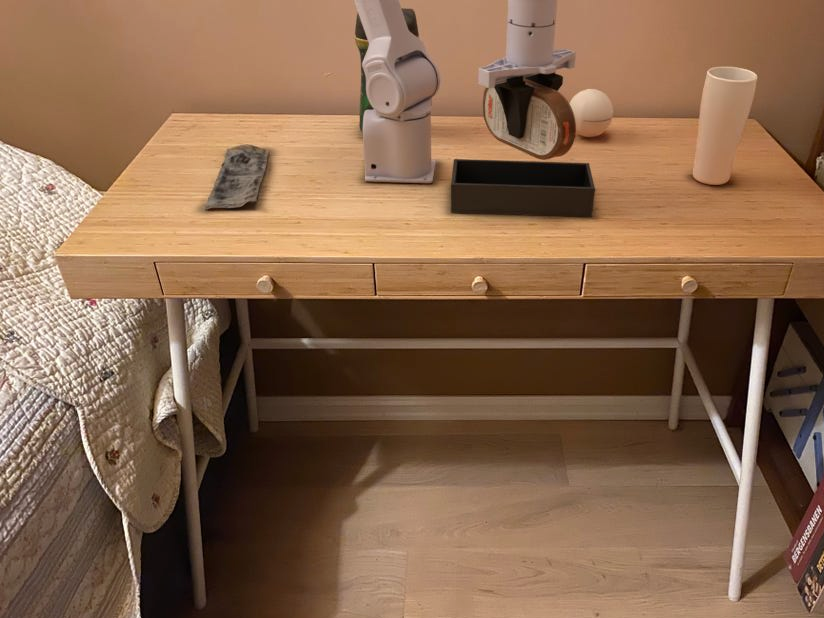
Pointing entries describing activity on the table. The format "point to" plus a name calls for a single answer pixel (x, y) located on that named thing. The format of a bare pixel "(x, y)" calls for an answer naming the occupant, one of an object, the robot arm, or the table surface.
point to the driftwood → (238, 177)
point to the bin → (522, 188)
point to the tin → (535, 122)
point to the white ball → (591, 112)
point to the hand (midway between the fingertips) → (524, 133)
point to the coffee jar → (363, 47)
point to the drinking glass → (722, 122)
